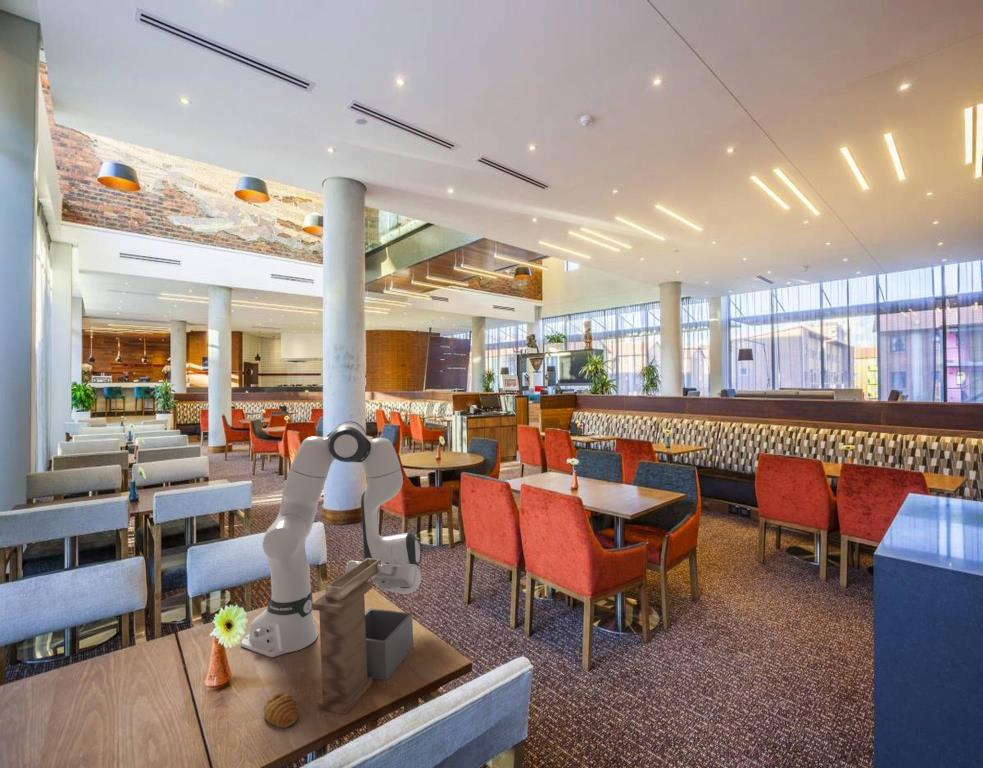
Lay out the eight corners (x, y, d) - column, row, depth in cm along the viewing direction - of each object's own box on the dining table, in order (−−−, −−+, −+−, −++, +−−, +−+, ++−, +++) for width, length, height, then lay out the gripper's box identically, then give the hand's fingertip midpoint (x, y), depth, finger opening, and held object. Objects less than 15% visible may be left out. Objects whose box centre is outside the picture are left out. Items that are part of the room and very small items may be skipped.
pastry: (306, 718, 114) (305, 702, 114) (278, 735, 109) (277, 719, 109) (287, 701, 120) (287, 686, 120) (260, 717, 115) (259, 701, 115)
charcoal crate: (340, 672, 131) (339, 636, 131) (371, 640, 146) (370, 608, 146) (386, 680, 127) (385, 642, 127) (413, 647, 142) (412, 613, 142)
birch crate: (326, 598, 118) (325, 586, 118) (367, 568, 136) (367, 558, 136) (341, 600, 117) (341, 588, 117) (381, 569, 135) (380, 559, 135)
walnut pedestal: (315, 710, 116) (311, 603, 116) (349, 675, 130) (345, 579, 129) (344, 715, 114) (340, 607, 113) (375, 679, 127) (371, 582, 127)
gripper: (362, 560, 149) (338, 552, 137) (422, 565, 143) (403, 557, 131) (357, 582, 146) (332, 575, 134) (418, 588, 140) (398, 582, 128)
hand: (367, 566), depth 133 cm, fingers open, 6 cm apart
